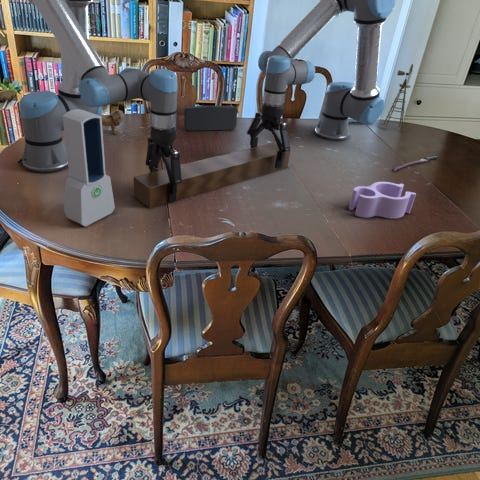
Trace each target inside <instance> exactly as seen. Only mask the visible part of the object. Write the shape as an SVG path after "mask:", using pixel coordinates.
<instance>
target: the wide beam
mask: <svg viewBox="0 0 480 480" xmlns="http://www.w3.org/2000/svg"><path fill="white" fill-rule="evenodd" d="M277 151H279V148H278V146H277V143H276V142H270V143H266V144H262V145H257V147H253V148H251V147H250V148H245V149H242V150H237V151H234V152H230V153H225V154H220V155H216V156H213V157H212V156H211V157H209V158H205V159H201V160H196V161H191V162H188V163H183V164H180V168H181V177H182V183H179V184H177V193H176V201H180V200H182V199H186V198H189V197H193V196H197V195H199V194H203V193H206V192H210V191H213V190H216V189H220V188H223V187H227V186H230V185H234V184H237V183H240V182H244V181H248V180H250V179H255V178H257V177H260V176H265V175H268V174H270V173H274V172H277V171H281V170H284V169H287V168H289V163H290V162H289V161H290V156H291V150H290V151H287V152H285V156H284V160H283V161H282V167H281V168H277V169H276V168H275V163H276V156H277ZM172 180H173V179H172ZM168 183H169V178H168V174H167V170H166V168H163V169H159V171H155V172H151V173H150V172H146V173H143V174H139V175H136V176H133V196H134V197H135V198H136V199H137V200H138V201H140V202H141V203H142V204H143V205H145V207H147V208H149V209H152V208H156V207H159V206H162V205H166V204H170V203H169V202H168Z"/></svg>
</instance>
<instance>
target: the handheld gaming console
mask: <svg viewBox="0 0 480 480" xmlns="http://www.w3.org/2000/svg"><path fill="white" fill-rule="evenodd" d="M238 111H239V110H238V107H236V106H235V105H191V106H189V105H188V106H185V108H184V114H183V115H184V117H183V119H184V121H183V122H184V123H183V127H184V129H185V130H186V131H190V132H192V131H193V132H194V131H229V130H230V131H231V130H235V129H236V128H237V123H238V122H237V119H238Z"/></svg>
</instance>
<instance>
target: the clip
mask: <svg viewBox="0 0 480 480" xmlns="http://www.w3.org/2000/svg"><path fill="white" fill-rule="evenodd" d="M404 187H405V184H404V183H399V184H398V183H395V182H389V181H376V182H373V183H372V184H371V185H368V186H367V185H365V186H364V185H358V186H356V187H354V188H353V190H352V195H351V199H350V203H349V207H348V210H350V211H353V210H354V209H355V208H356V209H355V211H354V216H356V217H359V218H363V219H364V218H365V219H366V218H368V219H369V218H373V217H381V218H385V219H393V220H394V219H400V218H402V217H404V215H405V214H411V210H412V208H413V205H414V201H415V198H416V195H417V193H416V192H413V191H405V193H404V196H402V193H403V190H404Z"/></svg>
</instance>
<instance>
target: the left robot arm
mask: <svg viewBox="0 0 480 480" xmlns="http://www.w3.org/2000/svg"><path fill="white" fill-rule="evenodd" d="M27 1H28V2H29V3H30V4H31V5H33V6H35V7H36V9H37V10H38V12H39V14H40V16H41V17H42V19H43V20H44V22H45V24H46V26H47V27H48V28H49V30H50V32H51V34H52V36H53V37H54V38H55V40H56V42H57V43H58V45H59V48H60V49H59V50H60V64H61V79H62V81H61V82H60V83H59V84H58V85H57V92H58V93H57V94H56V92H54V91H51V90H37V91H32V92H29V93H26V94H24V95H23V96H22V97H21V98H20V100H19V103H18V104H19V116H20V119H21V126H22V132H23V137H24V148H23V153H22V157H20V159H19V160H18V161H17V164H21V163H22V166H23V168H24V169H25V170H27V171H29V172H33V173H39V174H46V173H56V172H61V171H63V170H66V169H67V168H68V159H67V150H66V144H65V143H64V140H63V132H64V125H63V115H64V114H65V113H67V112H69V111H71V110H74V109H80V110H84V111H87V112H90V113H93V114H96V115H99V116H102V114H103V107H106V106H109V105H113V104H118V103H124V102H129V101H133V100H138V99H139V100H143V101H145V102H149V124H150V125H149V126H150V127H149V129H150V130H149V132H150V133H149V135H150V136H149V137H147V149H146V158H145V166H146V167H148V170H149V173H151V172H155V171H159V170H160V169H159V168H160V166H159V164H160V161H161V160H162V162H163V163H164V167H165V169H166V170H167V174H168V178H169V183H168V202H169V203H168V204H170V203H173V202H177V200H176V193H177V184H179V183H182V177H181V168H180V165H181V160H180V157H181V156H180V155H181V152H180V150H175V148H174V142H175V141H176V140H177V127H176V126H177V112H178V109H177V108H178V105H177V104H178V90H179V86H178V76H177V74H176V72H175V71H173V70H170V69H165V68H155V69H152V70H151V71H150V72H146V71H145V70H144V71H143V70H141V69H139V68H134V67H125V68H123V69H122V70H121V71H120V72H119V73H112V74H110V73H109V71H108V69H107V68H106V66H105V65H104V63H103V61H102V59H101V58H100V56H99V55H98V53H97V51H96V49H95V48H94V46H93V44H92V43H91V41H90V38H89V15H88V14H89V11H88V9H89V8H88V6H89V5H90V4H91V3H93V1H94V0H27ZM172 179H173V180H172Z"/></svg>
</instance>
